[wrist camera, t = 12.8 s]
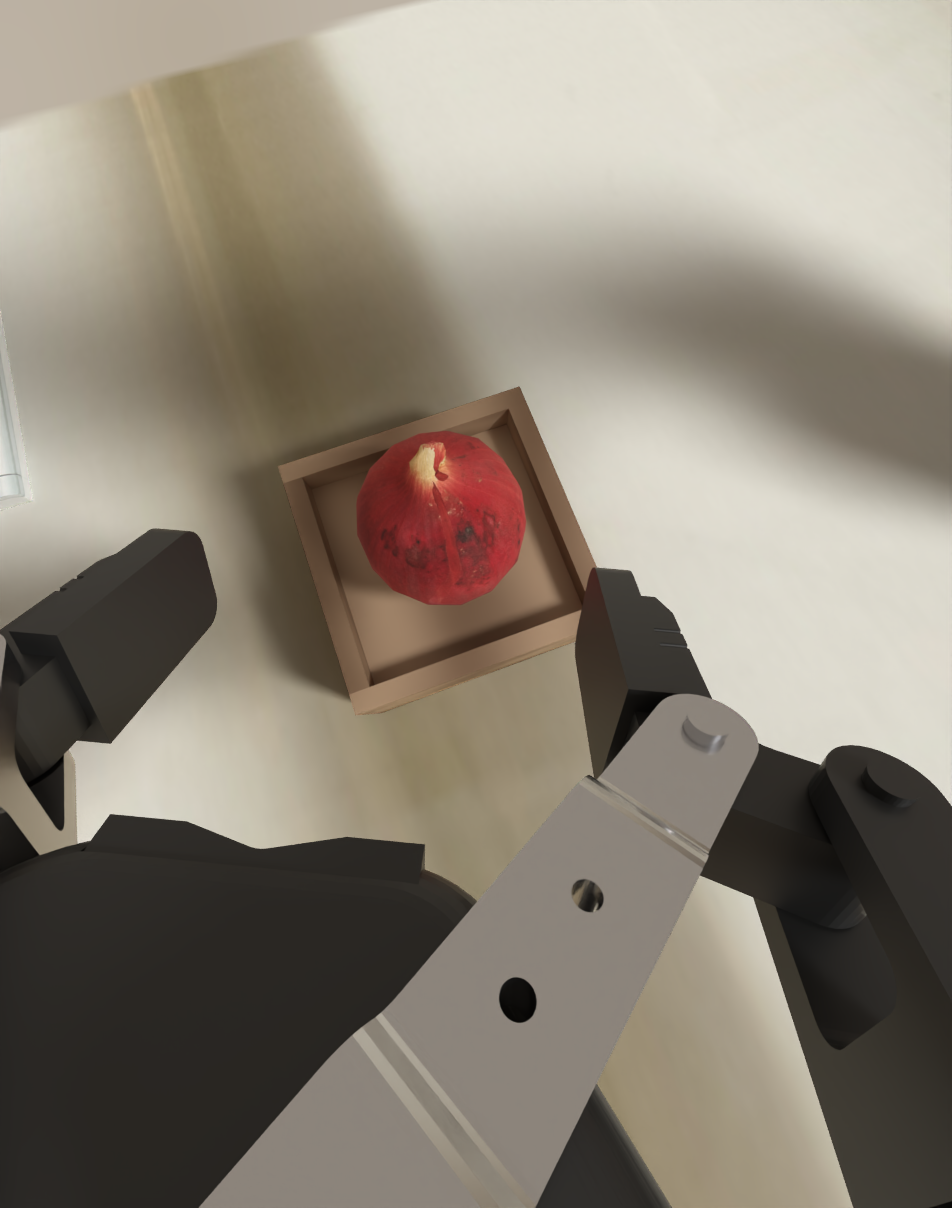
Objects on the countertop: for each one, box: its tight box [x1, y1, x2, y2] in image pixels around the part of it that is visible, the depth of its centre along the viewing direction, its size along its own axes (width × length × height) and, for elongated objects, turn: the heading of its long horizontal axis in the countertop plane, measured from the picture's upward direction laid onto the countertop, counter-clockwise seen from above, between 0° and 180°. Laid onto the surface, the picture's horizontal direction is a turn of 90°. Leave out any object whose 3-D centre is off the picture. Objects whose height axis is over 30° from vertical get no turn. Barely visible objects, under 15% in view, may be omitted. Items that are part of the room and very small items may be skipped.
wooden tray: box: [278, 387, 597, 715], centre depth 23 cm, size 11×11×5 cm
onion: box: [356, 431, 526, 605], centre depth 17 cm, size 6×6×8 cm
